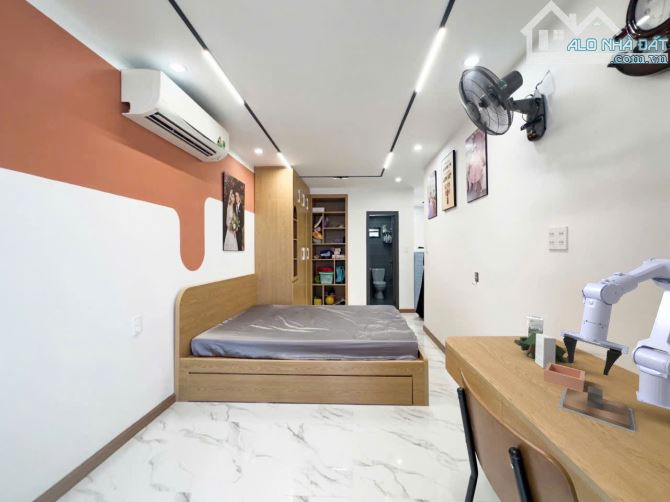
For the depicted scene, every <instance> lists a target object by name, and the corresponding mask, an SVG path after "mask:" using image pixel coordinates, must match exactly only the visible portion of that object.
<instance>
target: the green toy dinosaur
mask: <svg viewBox="0 0 670 502" xmlns="http://www.w3.org/2000/svg"><path fill="white" fill-rule="evenodd" d="M513 342H514V344H516V345H517V346H520V350H521V351H524V352H525V354H527V356H528V357H530V358H531V359H535V353H536V333H534V332H533V333H532V334H531V335H530V336H529V337H527V336H520V337H519V339H516V338H515V339H514V340H513ZM565 354H567V351H565V350H564V349H563V347H561V346H559V345H558V344H556V347H555V359H557V360H559V361H560V362H563V363H565V362H568V355H567V356H566V358H564V356H565Z"/></svg>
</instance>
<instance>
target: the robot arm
mask: <svg viewBox="0 0 670 502" xmlns="http://www.w3.org/2000/svg"><path fill="white" fill-rule="evenodd" d="M649 280H651V281H652V282H653V283H654V284H655V285H656V286H657V287H660V288H662V289H663V294H662V298H661V301H660V304H659V308H658V311H657V313H656V316H655V320H654V323H653V327H652V330H651V333H650V336H649V337H648V338H645V339H644V338H643V339H641V340H638V341H637V344H636V345H635V347H634V348H633V349H632V351H631V354H630V357H631V361H632V363H633V364H634V365H636V369H639V370H638V371H639V372H638V373H639V375H638V377H639V378H638V391H637V390H636V391H635V393H636V399H637V401H638V402H642V403H644V404H645V403H646V404H648V405H652V406H656V407H659V408H663V409H666V410H670V258H655V257H653V258H652V257H651V258H649V259H647V260H644V261H643V263H642V265H640V266H639V267H637V268H634V269H633V270H631V271H629V272H627V273H626V272H620V271H615V272H613V275H611V276H608V277H606V278H602V279H600V281H598V282H589V283H586V284H585V285H584V286H583V287H582V289H581V290H580V294H581V297H582V304H583V306H584V307H583V313H582V319H581V326H580V331H579V333H577V332H574V331H569V330H565V329H561V330H560V333H559V337H563V338H562V340H563V344H564V346H565V349H566V354H567V356H568V361H567V363H568V364H574V362H575V361H574V360H575V352H576V348H577V343H578V341H579V342H582V343H586V344H589V345H594V346H596V347H599V348H600V347H601V348H604V349H606V357H605V364H604V365H605V366H604V369H603V373H602V374H603V375H604V376H608V375H609V373H610V370H611V369H612V367H613V365H614V364H615V363H616V362H617V360H618V359H619V358H620V357H621V356H622V355H623V354H624V355H628V354H629V349H630V347H629V346H627V345H623V344H620V343H616V342H612V341H609V340H607V338H608V333H609V325H610V319H611V315H612V308H613V305H614V304H617V303H619V301H620V300H621V297H623V295H626V294H628V293H631V292H633V291H635V290H636V289H637V288H638V287H639V284H640V283H642V282H646V281H649Z"/></svg>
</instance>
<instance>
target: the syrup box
mask: <svg viewBox="0 0 670 502" xmlns="http://www.w3.org/2000/svg"><path fill="white" fill-rule="evenodd" d="M533 332H534V333H537V334H544V319H543V317H542V316H534V315H527V318H526V337H529V336H530V335H531V334H532V333H533Z"/></svg>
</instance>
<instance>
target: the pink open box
mask: <svg viewBox="0 0 670 502" xmlns="http://www.w3.org/2000/svg"><path fill="white" fill-rule="evenodd" d="M543 369H544V370H543V381H544V382H547V383H552V384H554V385H558V386H561V387H564V388H569V389H572V390H575V391H579V392H582V393H584V388H585V382H586V371H585V370H581V369H579V368H578V369H577V368H573V367H569V366H564V365H561V364H557V363H555V364H554V363H550V362H548V364H547V366H546V368H543Z"/></svg>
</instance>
